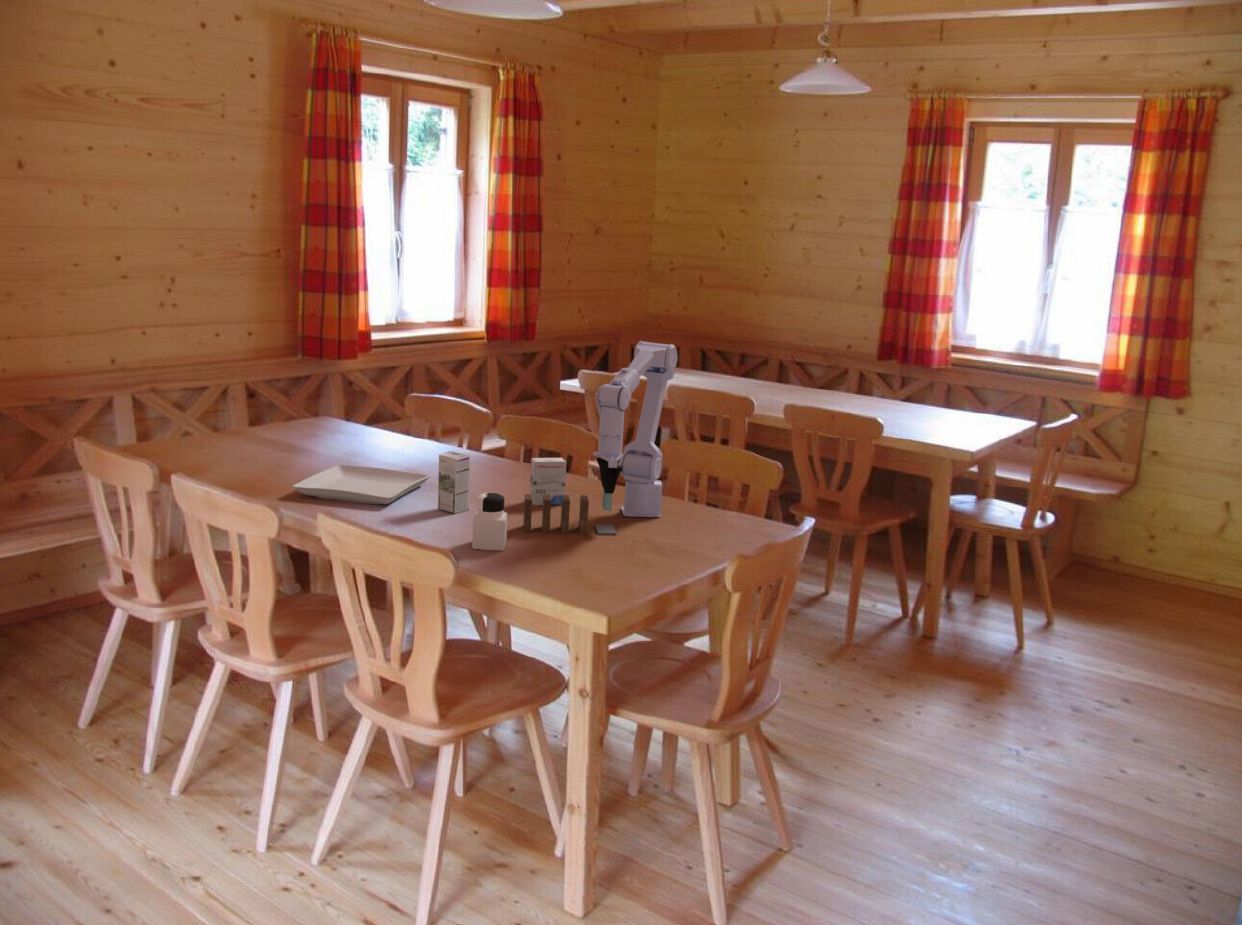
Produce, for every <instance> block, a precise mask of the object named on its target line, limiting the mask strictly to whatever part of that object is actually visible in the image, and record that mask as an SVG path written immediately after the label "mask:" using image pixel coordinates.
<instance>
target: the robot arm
mask: <svg viewBox="0 0 1242 925" xmlns="http://www.w3.org/2000/svg"><path fill="white" fill-rule="evenodd" d="M633 352H634V353H633V359H632V361H631V362H630V364H629V365H628V367H622V368H621V369H620V370H619V371H618V372H617V373H616V375H615V376H614V377H613V378H612V379H611V381H610V382H608V383H605V384H603V385H601V386H599V388H598V390H597V393H596V397H595V398H596V399H595V400H596V404H597V413H598V414H597V415H599V425H598V427H599V428H598V429H599V430H598V446H597V449H598V450H597V451H593V452H592V455H593V457H596V458H595V459H596V462H597V465H598V468H599V472H600V473H599V474H600V483H601V487H602V488H603V485H604V492H605V493H611V494H612V495H613V494H614V492H615V490H616V486H617V482H618V479H619V477H620V475H622V476H623V480H625V483H624V485H625V488H624V501H623V502H624V504H623V506H620V509H621V512H622V514H623V517H633V518H635V517H638V518H639V517H641V518H661V516H662V515H661V514H662V512H661V511H662V498H663V497H662V496H663V484H662V481H661V480H658V479H659V477H660V476H661V474H662V469H663V456H664V455H663V452H662V451H661V450H660V448H659V447H658V446H657V445H656V444H655V442H656V437H657V432H658V428H659V427H658V426H659V423H660V418H661V415H662V414H661V413H662V408H663V404H664V399H665V394H666V388H667V386H668V381H669V380H672V379H673V378H674V375H675V372H676V367H677V362H678V350H677V348H676V346H675V345H674V344H672V343H671V344H666V343H658V342H657V343H656V342H649V341H643V340H640V341H639V342H638V343H636V345H635V348H634V351H633ZM642 376H643V377H644V378H646V380H647V383H646V388H645V392H644V393H645V394H644V399H643V403H642V407H641V412H640V417H639V421H638V427H637V431H636V435H635V439H634V440H633V441H631V442H629V443H628V444H626V445H625V446H624V449H623V444H624V443H623V442H624V441H623V440H624V439H623V437H624V425H625V424H624V423H625V411H626V410H627V409H628V407H629V404H630V401H631V399H632V394H633V392H634V391H635V390H636V389H637V388H638V386H640V382H641V379H640V377H642Z"/></svg>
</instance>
